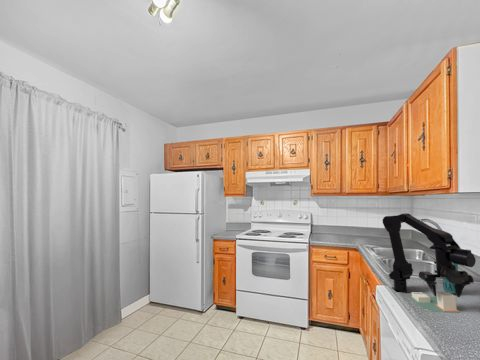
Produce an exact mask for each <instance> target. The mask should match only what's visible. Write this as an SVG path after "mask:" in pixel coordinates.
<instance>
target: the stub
mask: <svg viewBox="0 0 480 360" xmlns="http://www.w3.org/2000/svg"><path fill="white" fill-rule="evenodd" d="M436 297H437V302H438V306H439V307H441V308H442V309H443V310H458V309H457V299H456V297H457V295H455V294H454V293H450V292H447V291H436Z"/></svg>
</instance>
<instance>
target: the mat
mask: <svg viewBox="0 0 480 360" xmlns="http://www.w3.org/2000/svg"><path fill="white" fill-rule="evenodd" d="M427 296H428V295H427ZM407 297H408V298H409V299H410V300H412V301H413V302H414V303H416V304H417V305H418V306H419V307H421V309H423V310H424V309H428V310H429V311H430V310H431V312H430V313H445V312H444V311H443V310H441V309H440V308H438V307H437V306H436V305H435V304H438V302H437V296H430V295H429V296H428V297H430V301H431V303H426V302H418V301H417V300H415V299H414V298H413V297H412V295H407ZM446 313H449V314H450V313H451V314H453V313H454V314H461V312H446Z"/></svg>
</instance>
